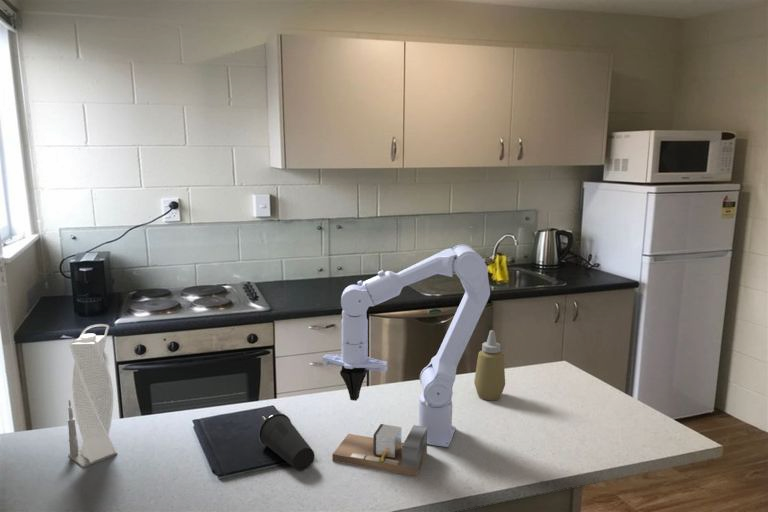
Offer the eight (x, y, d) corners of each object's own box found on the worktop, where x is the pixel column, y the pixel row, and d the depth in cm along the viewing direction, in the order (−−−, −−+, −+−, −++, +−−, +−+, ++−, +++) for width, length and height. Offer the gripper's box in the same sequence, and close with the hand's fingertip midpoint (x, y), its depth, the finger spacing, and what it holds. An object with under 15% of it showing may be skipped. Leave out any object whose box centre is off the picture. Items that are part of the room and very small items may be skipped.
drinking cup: (326, 445, 118) (283, 405, 134) (297, 438, 114) (256, 398, 129) (310, 480, 118) (269, 436, 133) (280, 474, 113) (241, 429, 129)
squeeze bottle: (481, 404, 147) (484, 337, 144) (468, 391, 155) (471, 327, 152) (510, 401, 149) (513, 334, 146) (496, 388, 157) (499, 325, 154)
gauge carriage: (380, 442, 124) (380, 423, 123) (401, 446, 123) (401, 427, 122) (369, 459, 117) (370, 439, 117) (391, 463, 116) (391, 443, 115)
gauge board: (348, 439, 129) (348, 414, 128) (426, 453, 124) (427, 427, 122) (332, 460, 120) (332, 434, 119) (416, 475, 115) (416, 448, 114)
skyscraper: (108, 440, 127) (97, 319, 122) (126, 453, 122) (116, 326, 117) (68, 456, 121) (55, 328, 116) (85, 469, 116) (73, 337, 111)
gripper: (316, 342, 124) (317, 401, 126) (380, 349, 120) (380, 410, 122) (329, 332, 131) (329, 388, 133) (390, 339, 126) (389, 397, 129)
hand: (354, 398), depth 128 cm, fingers closed
